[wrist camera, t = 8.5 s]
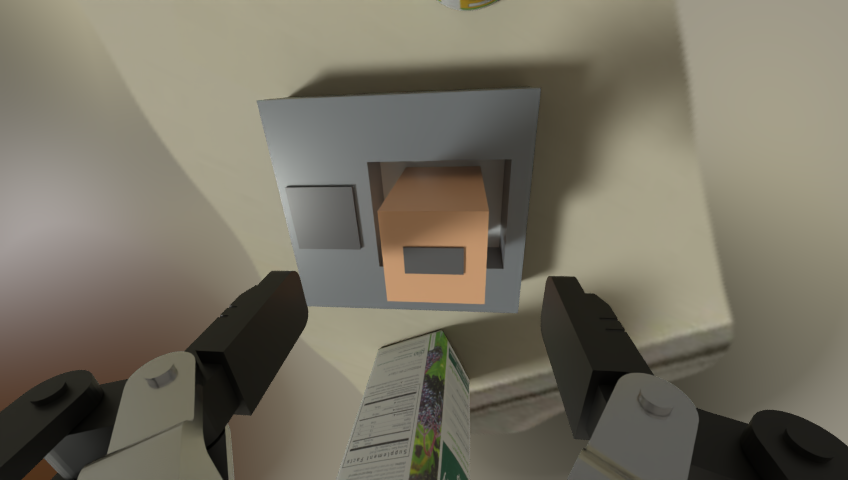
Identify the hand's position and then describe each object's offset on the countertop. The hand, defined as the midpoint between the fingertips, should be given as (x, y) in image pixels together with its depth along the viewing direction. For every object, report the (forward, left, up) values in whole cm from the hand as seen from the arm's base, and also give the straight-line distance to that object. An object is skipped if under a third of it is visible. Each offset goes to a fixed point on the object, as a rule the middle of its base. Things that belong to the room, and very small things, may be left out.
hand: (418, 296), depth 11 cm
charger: (0, 0, -10) cm, 10 cm away
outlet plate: (0, -2, -10) cm, 10 cm away
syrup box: (+14, -2, -10) cm, 17 cm away
